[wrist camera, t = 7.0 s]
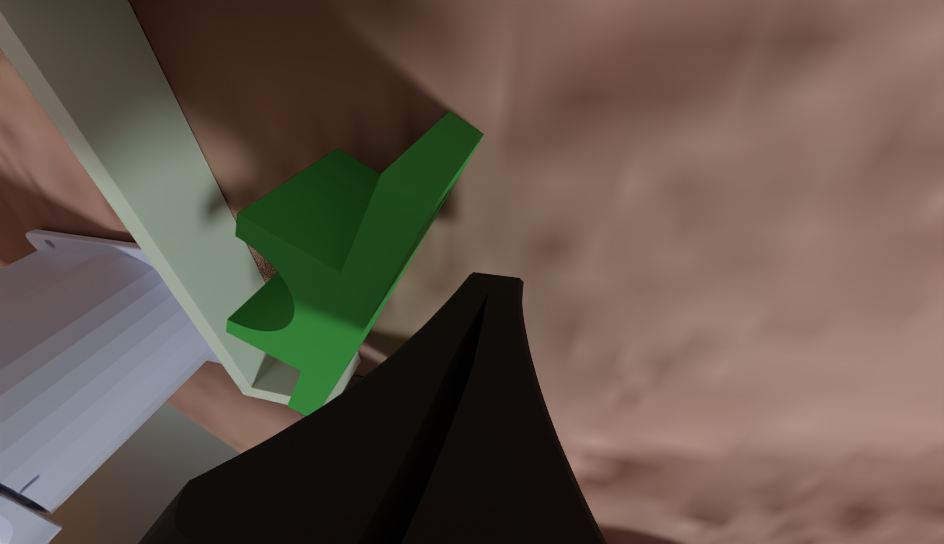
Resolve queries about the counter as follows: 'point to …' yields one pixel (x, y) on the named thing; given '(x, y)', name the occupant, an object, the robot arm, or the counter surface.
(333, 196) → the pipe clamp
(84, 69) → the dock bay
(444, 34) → the counter surface
